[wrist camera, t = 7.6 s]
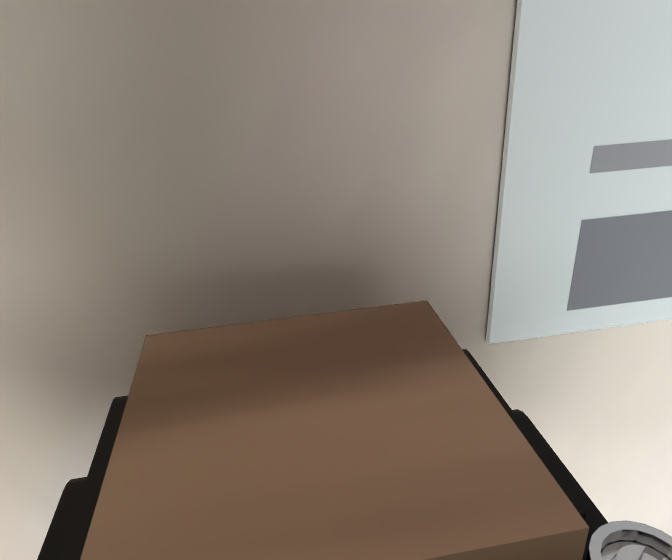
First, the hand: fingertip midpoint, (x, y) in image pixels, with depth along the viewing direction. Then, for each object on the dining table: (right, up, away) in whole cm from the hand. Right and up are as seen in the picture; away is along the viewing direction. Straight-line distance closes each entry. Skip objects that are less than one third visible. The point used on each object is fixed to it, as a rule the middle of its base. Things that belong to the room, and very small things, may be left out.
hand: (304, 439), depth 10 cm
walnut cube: (0, 0, 0) cm, 0 cm away
